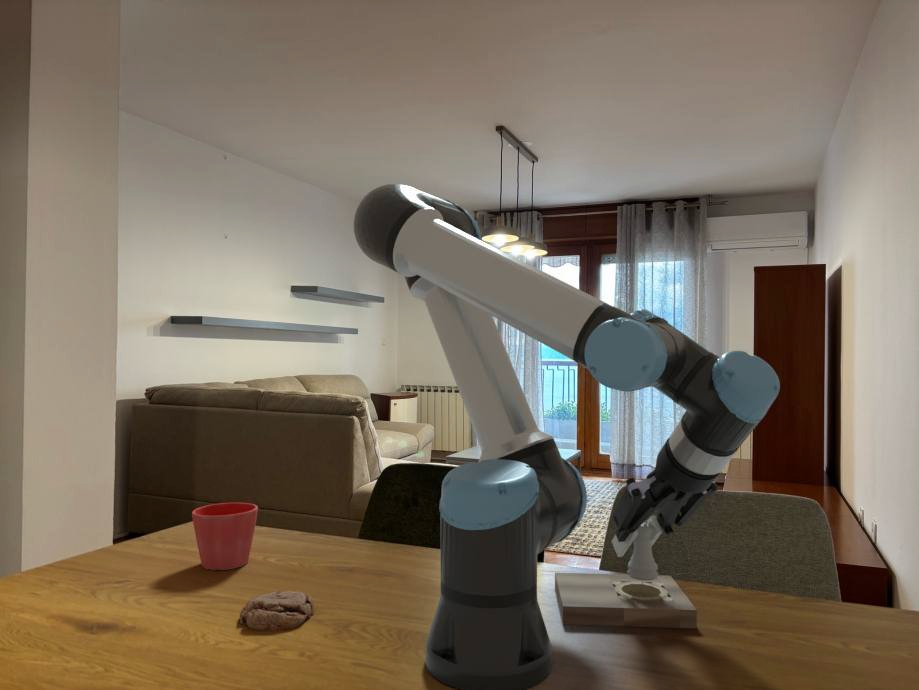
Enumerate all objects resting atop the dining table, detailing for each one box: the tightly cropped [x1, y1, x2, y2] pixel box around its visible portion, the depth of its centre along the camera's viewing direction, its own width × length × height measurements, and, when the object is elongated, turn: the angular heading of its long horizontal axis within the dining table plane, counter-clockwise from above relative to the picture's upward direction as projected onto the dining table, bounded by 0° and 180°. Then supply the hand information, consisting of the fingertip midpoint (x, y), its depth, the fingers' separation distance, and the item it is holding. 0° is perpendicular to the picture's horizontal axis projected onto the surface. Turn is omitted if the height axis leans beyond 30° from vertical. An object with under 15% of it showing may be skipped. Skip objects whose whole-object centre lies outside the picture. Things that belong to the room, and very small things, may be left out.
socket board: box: [554, 572, 698, 630], centre depth 98 cm, size 14×18×2 cm
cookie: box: [239, 590, 315, 632], centre depth 94 cm, size 10×11×3 cm
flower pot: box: [191, 502, 259, 571], centre depth 117 cm, size 11×11×10 cm
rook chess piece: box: [626, 519, 659, 581], centre depth 97 cm, size 4×4×8 cm
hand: (628, 547), depth 101 cm, fingers closed on rook chess piece, 3 cm apart
